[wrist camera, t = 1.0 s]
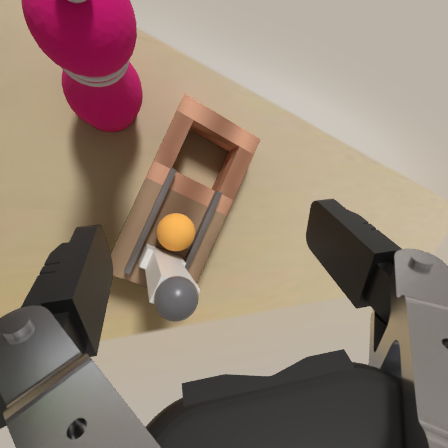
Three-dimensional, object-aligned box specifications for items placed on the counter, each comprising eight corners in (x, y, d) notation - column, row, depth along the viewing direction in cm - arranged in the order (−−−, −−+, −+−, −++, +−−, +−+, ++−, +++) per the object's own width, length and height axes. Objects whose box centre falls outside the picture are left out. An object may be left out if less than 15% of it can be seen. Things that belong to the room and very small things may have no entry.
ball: (149, 239, 30) (151, 245, 27) (164, 206, 30) (168, 207, 27) (182, 252, 32) (188, 260, 28) (196, 220, 32) (205, 224, 28)
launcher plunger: (137, 264, 30) (138, 318, 17) (148, 239, 30) (158, 273, 17) (172, 277, 31) (199, 337, 18) (183, 253, 32) (218, 295, 18)
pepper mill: (76, 135, 31) (-20, 40, 12) (69, 67, 30) (-45, -155, 11) (143, 137, 33) (154, 58, 14) (139, 73, 32) (144, -103, 13)
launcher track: (106, 263, 33) (101, 275, 28) (179, 105, 34) (186, 89, 29) (182, 290, 36) (190, 305, 31) (247, 145, 37) (264, 137, 32)
